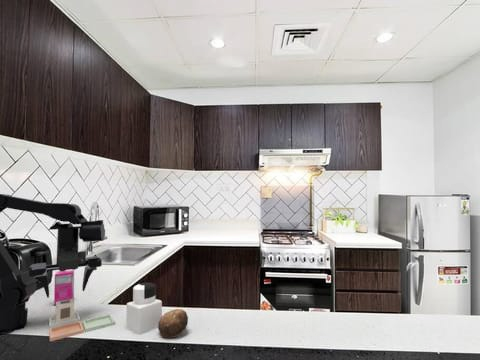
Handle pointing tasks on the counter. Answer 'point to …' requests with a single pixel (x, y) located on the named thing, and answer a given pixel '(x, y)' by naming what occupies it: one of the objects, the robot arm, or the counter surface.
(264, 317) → the counter surface
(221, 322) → the counter surface
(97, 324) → the tray sage
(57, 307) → the letter block
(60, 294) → the supplement box
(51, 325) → the tray grey
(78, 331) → the tray terracotta
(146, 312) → the medicine bottle
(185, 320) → the brown potato
